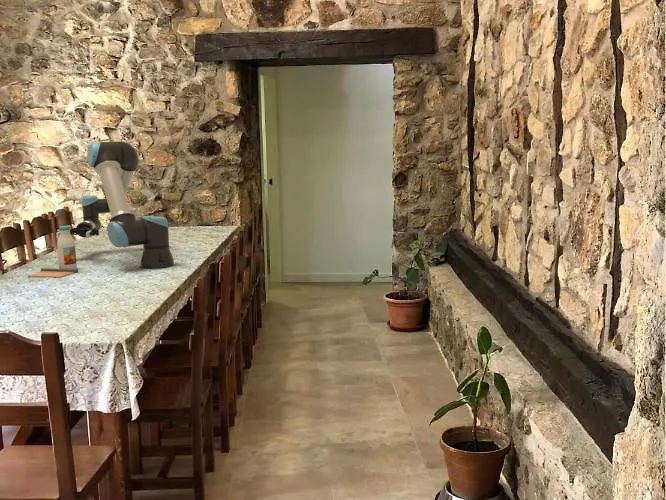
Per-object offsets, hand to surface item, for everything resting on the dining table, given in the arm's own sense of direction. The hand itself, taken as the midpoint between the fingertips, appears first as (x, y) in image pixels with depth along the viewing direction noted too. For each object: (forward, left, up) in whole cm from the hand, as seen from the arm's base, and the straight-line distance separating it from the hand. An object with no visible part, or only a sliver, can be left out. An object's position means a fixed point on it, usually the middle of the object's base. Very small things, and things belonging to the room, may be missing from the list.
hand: (72, 235), depth 320 cm
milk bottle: (-3, +10, -15) cm, 18 cm away
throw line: (-3, +16, -14) cm, 22 cm away
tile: (-3, +23, -14) cm, 27 cm away
